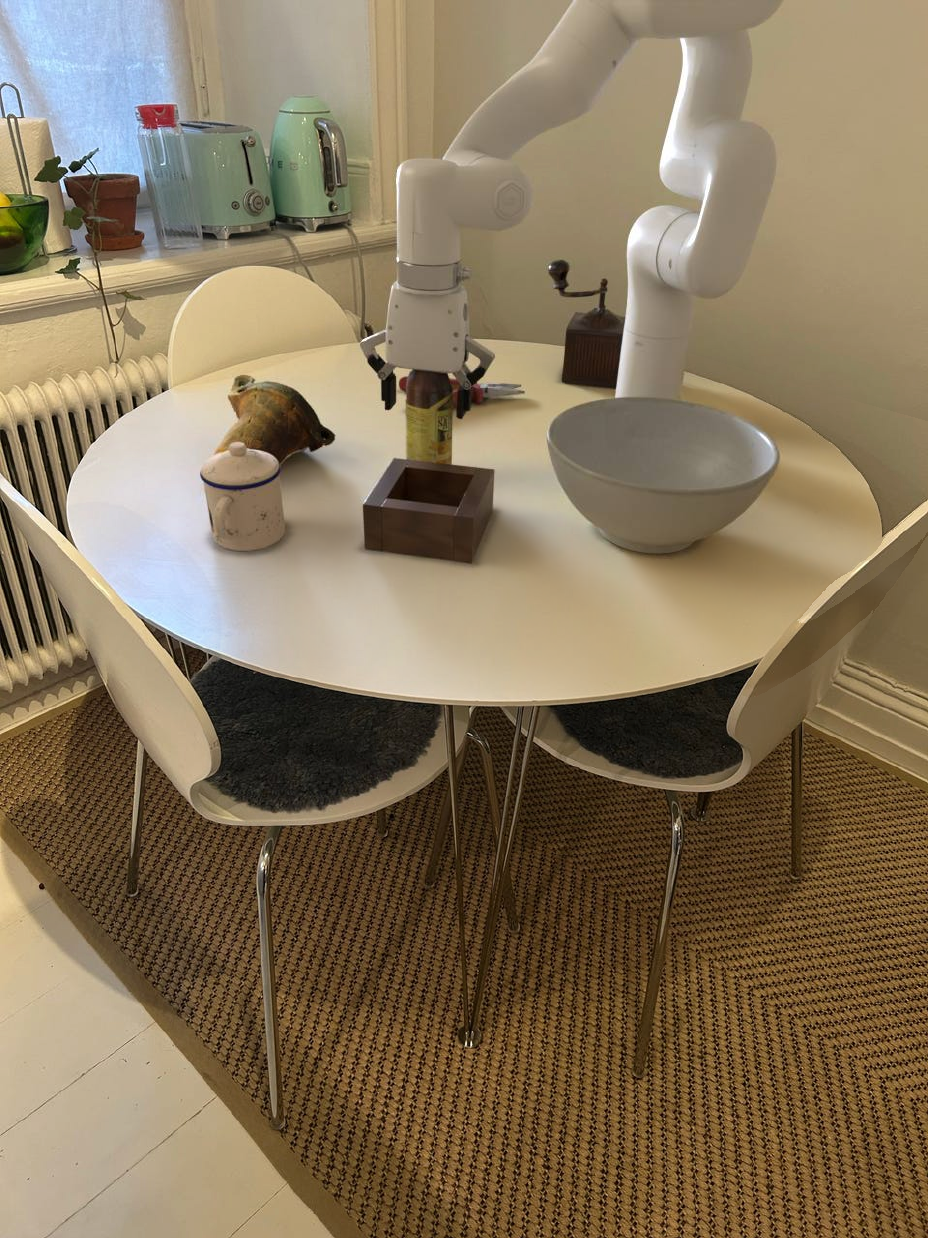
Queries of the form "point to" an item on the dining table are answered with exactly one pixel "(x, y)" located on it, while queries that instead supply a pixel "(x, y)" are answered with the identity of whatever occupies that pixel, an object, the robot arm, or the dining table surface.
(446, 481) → the holder
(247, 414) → the pot
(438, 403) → the sauce bottle
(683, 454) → the decorative bowl
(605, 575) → the dining table surface
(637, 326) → the robot arm
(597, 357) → the manual coffee grinder
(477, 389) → the pliers
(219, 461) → the teacup with lid
